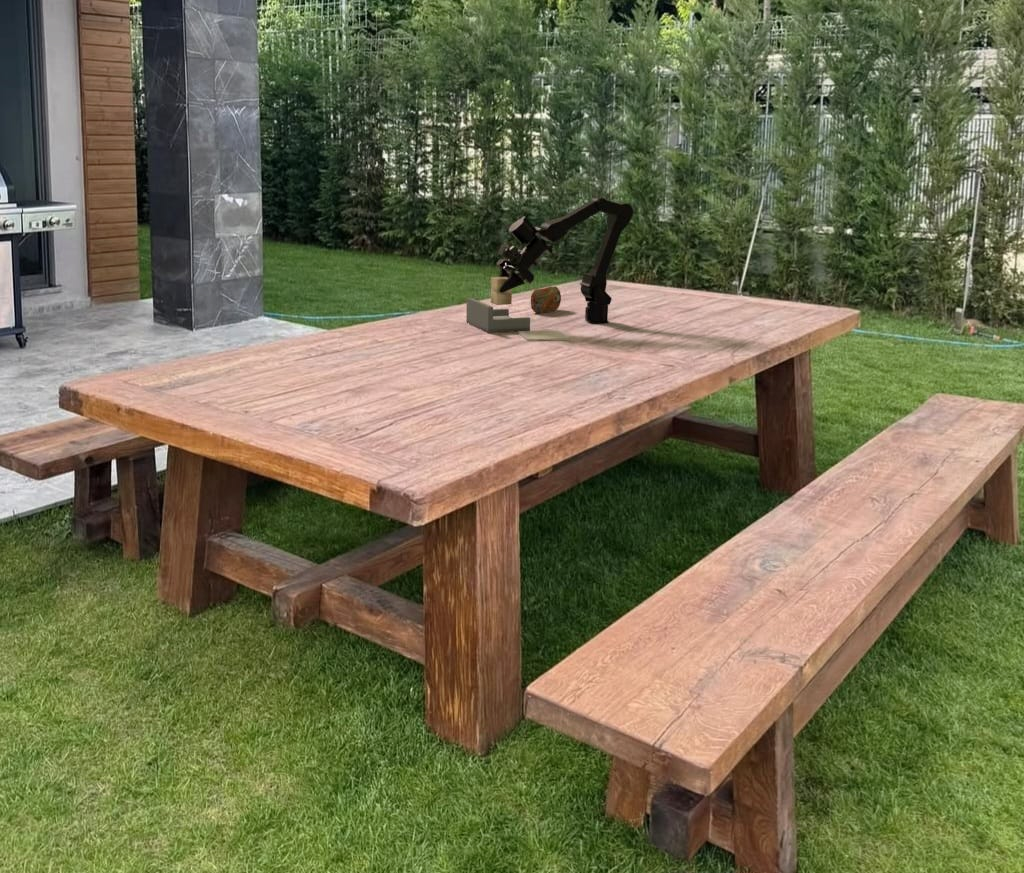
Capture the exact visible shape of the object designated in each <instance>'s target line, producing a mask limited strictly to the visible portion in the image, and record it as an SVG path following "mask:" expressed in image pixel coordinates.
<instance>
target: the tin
mask: <svg viewBox="0 0 1024 873" xmlns="http://www.w3.org/2000/svg"><path fill="white" fill-rule="evenodd" d="M561 294H562V293H561V291H560V289H559V288H558V287H557V286H546V287H542V288H541V287H540V288H537V289H534V290H533V291H532V293H531V295H530V308H531V310H532V311H533V312H534V313H536V314H546V313H545V312H547V313H550V312H549V311H551V312H555V311H557V310H558V309H559V307H560V306H561V301H562V295H561ZM554 310H555V311H554Z"/></svg>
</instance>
